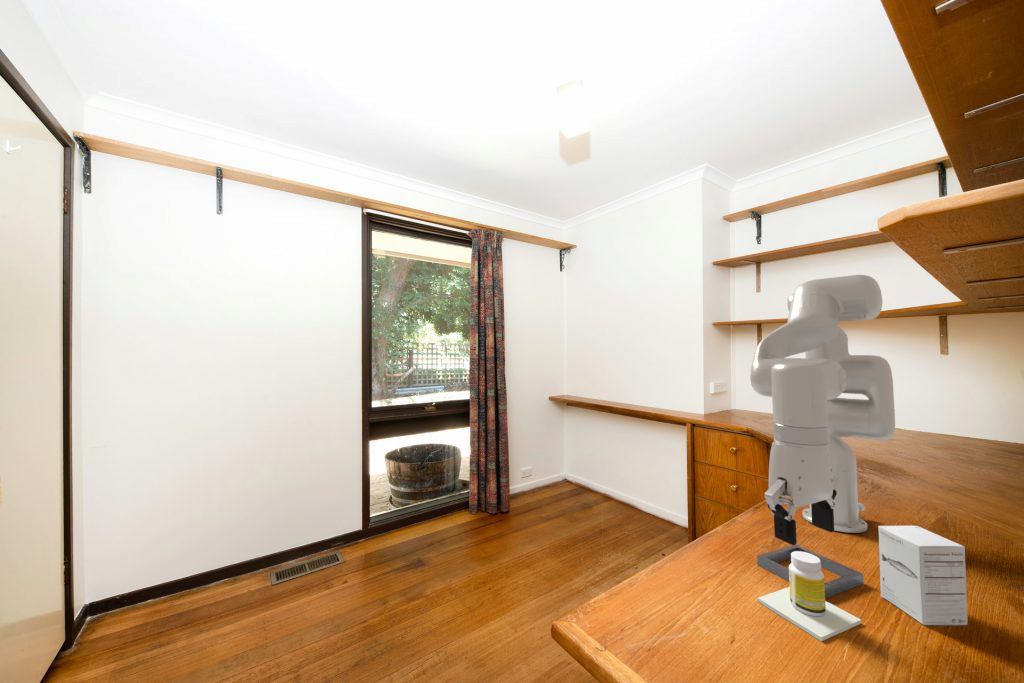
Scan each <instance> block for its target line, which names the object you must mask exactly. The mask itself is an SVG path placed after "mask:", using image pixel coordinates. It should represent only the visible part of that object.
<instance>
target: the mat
mask: <svg viewBox="0 0 1024 683" xmlns="http://www.w3.org/2000/svg"><path fill="white" fill-rule="evenodd" d="M757 602H758V603H760V604H761V605H762V606H764V607H766V608H767V609H769V610H770V611H772V612H773V613H776V614H777V615H779V616H780V617H782V618H783V619H785V620H786V621H788V622H790V623H791V624H793V625H794V626H796V627H797V628H799V629H801V630H803V632H805V633H807V634H809V635H810V636H812V637H813V638H815V639H816V640H818V641H820V642H823V641H826V640H828V639H830V638H832V637H834V636H836V635H839V634H841V633H843V632H846V631H848V630H850V629H853V628H855V627H856V626H859V625H861V624H862V620H861V619H860V618H859V617H857V616H855V615H853V614H851V613H849V612H847V611H846V610H844V609H842V608H839V607H838V606H836V605H835V604H832V603H830V602H828V601H827V600H825V606H826V612H825V614H824V615H822V616H811V615H808V614H805V613H803V612H801V611H799V610H797V609H796V608H795V607H794V606H793V605H792V604H791V602H790V586H788V587H784V588H782V589H779V590H777V591H776V590H775V591H774V592H771V593H767V594H765V595H763V596H759V597H757Z"/></svg>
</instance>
